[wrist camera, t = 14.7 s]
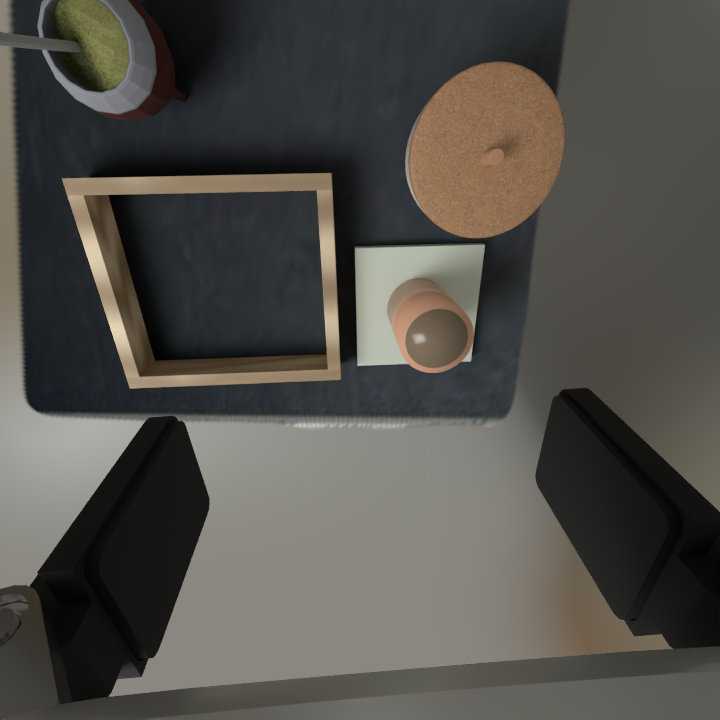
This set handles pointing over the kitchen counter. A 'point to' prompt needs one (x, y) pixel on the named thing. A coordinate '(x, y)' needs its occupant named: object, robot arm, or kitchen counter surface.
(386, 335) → the sage tile
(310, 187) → the frame
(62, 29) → the mate gourd
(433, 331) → the terracotta pot
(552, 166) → the lidded jar
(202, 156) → the kitchen counter surface
